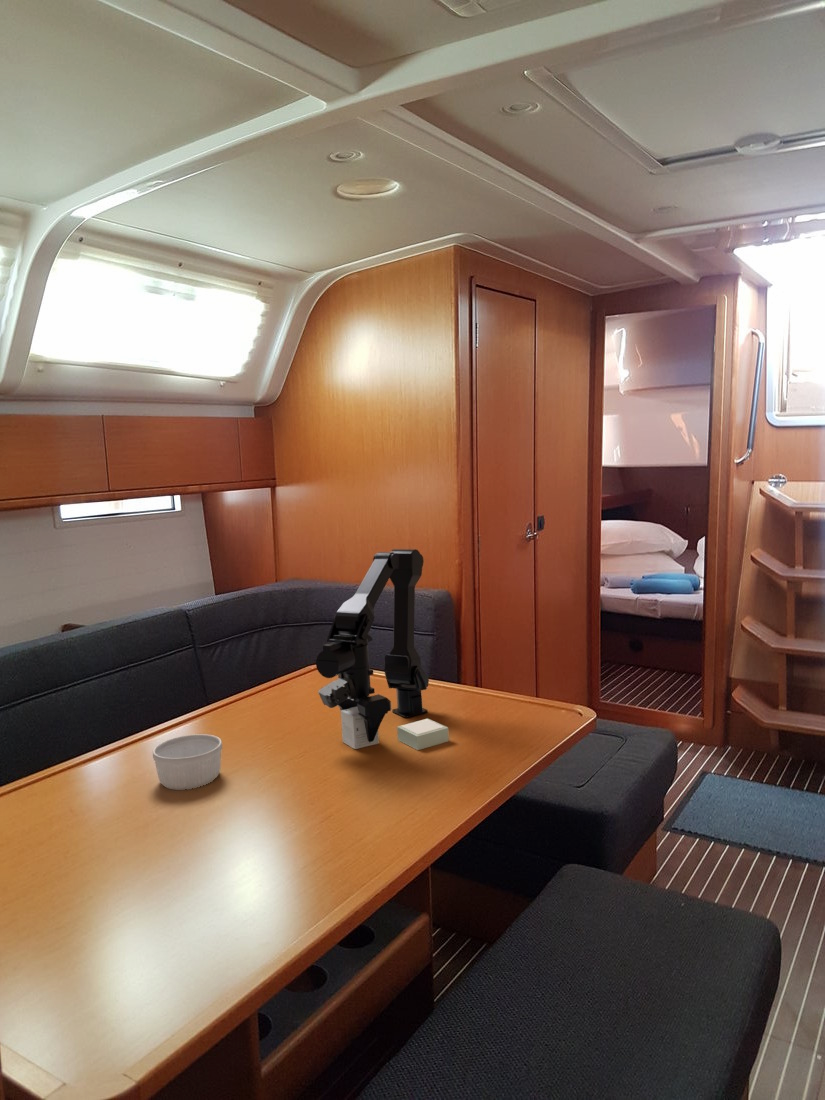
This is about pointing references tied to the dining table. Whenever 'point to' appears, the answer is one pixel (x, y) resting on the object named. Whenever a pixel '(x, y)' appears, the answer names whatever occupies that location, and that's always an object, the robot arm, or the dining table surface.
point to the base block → (423, 734)
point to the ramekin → (188, 761)
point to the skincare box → (355, 729)
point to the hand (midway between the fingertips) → (360, 735)
